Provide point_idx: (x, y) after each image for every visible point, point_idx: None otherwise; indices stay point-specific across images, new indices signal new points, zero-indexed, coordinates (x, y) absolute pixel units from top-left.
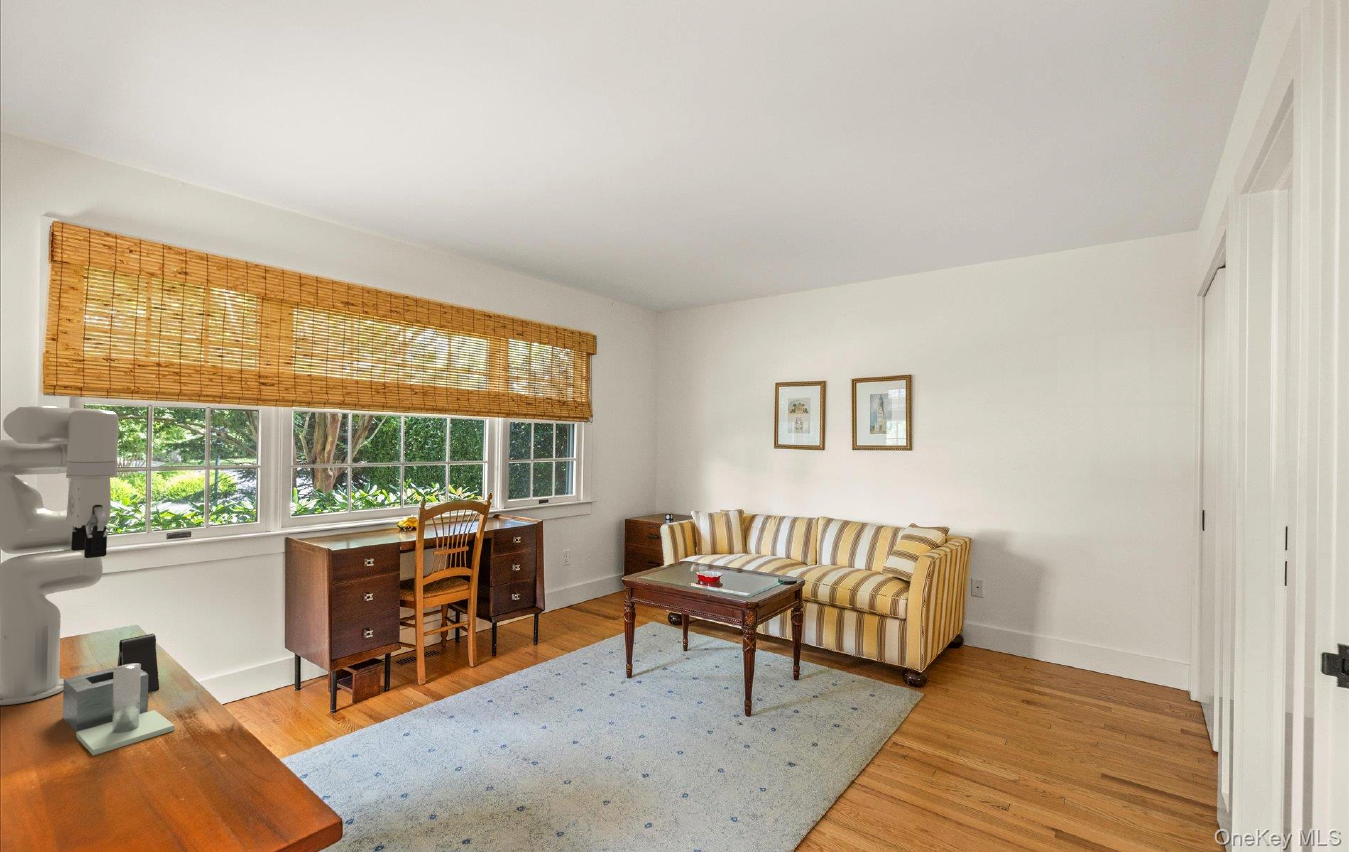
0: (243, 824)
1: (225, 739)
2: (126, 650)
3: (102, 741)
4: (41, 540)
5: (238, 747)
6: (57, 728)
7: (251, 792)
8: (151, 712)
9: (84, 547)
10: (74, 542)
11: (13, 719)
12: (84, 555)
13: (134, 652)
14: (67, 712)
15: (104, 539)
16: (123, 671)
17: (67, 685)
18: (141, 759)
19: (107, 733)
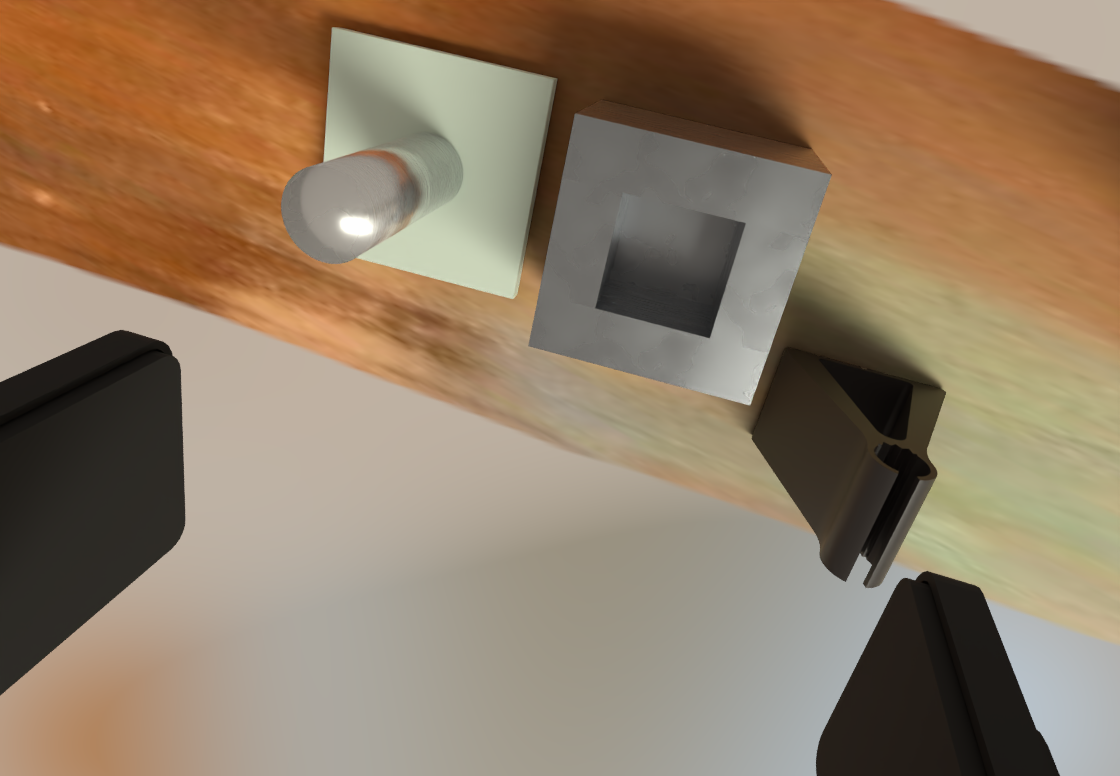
0: None
1: (139, 261)
2: (861, 455)
3: (381, 78)
4: None
5: (60, 243)
6: (717, 89)
7: None
8: (496, 281)
9: (848, 704)
10: (921, 689)
11: (1015, 55)
12: (124, 342)
13: (846, 471)
14: (740, 136)
15: None
16: (289, 180)
17: (753, 154)
18: (189, 82)
19: (438, 120)
